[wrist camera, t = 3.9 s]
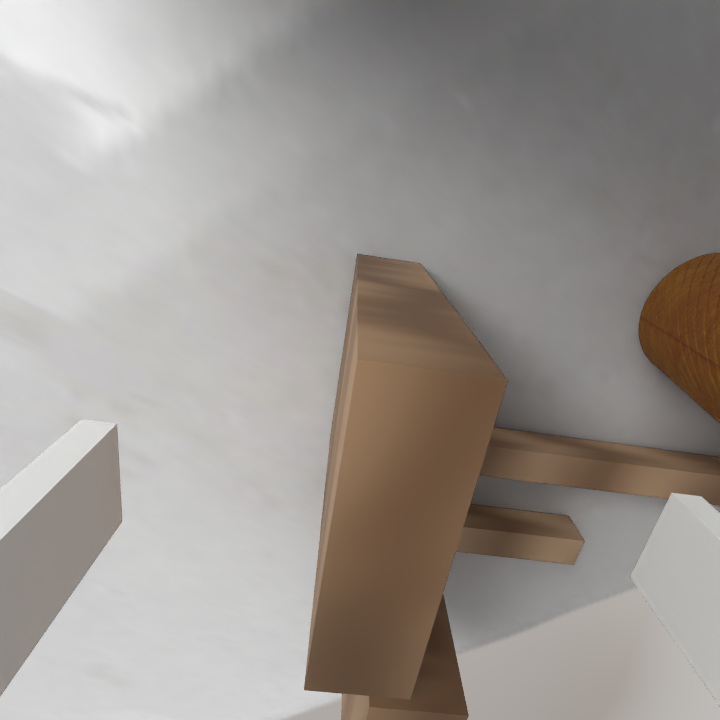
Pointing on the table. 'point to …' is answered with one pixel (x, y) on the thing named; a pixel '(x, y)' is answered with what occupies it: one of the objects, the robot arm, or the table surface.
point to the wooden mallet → (439, 665)
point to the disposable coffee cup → (687, 329)
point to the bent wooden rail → (429, 476)
